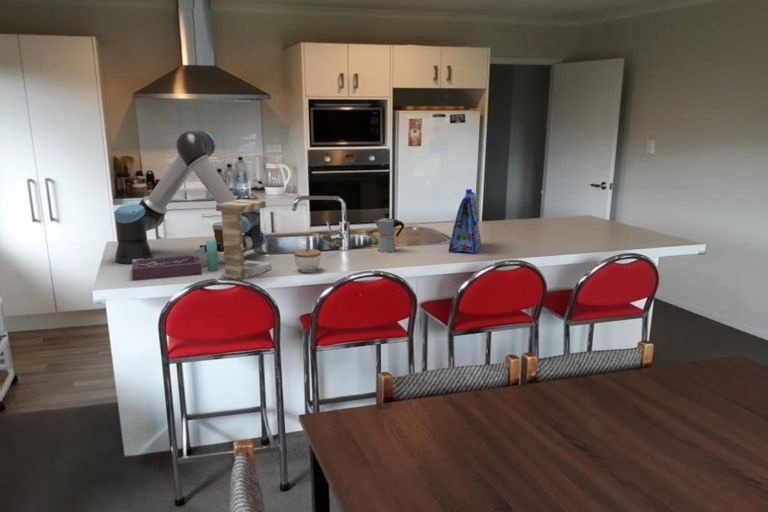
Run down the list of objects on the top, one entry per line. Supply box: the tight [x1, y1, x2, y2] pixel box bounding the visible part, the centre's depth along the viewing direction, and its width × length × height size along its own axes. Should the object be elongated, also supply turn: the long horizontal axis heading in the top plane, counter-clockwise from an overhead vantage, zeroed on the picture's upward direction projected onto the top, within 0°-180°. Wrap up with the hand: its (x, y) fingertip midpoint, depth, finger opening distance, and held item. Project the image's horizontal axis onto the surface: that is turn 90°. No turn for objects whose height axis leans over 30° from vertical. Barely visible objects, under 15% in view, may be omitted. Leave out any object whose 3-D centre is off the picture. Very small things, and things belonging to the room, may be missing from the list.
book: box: [131, 254, 202, 281], centre depth 233 cm, size 25×16×5 cm, turn 112°
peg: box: [205, 239, 219, 272], centre depth 236 cm, size 4×4×12 cm
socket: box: [244, 259, 272, 277], centre depth 236 cm, size 12×12×2 cm
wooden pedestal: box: [215, 198, 267, 280], centre depth 229 cm, size 16×12×28 cm
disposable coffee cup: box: [211, 221, 223, 250], centre depth 274 cm, size 10×10×12 cm
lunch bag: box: [448, 188, 482, 255], centre depth 275 cm, size 22×14×29 cm, turn 164°
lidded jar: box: [293, 247, 322, 273], centre depth 236 cm, size 11×11×9 cm
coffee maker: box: [373, 212, 405, 254], centre depth 271 cm, size 15×9×18 cm, turn 73°
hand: (206, 254), depth 233 cm, fingers open, 13 cm apart
